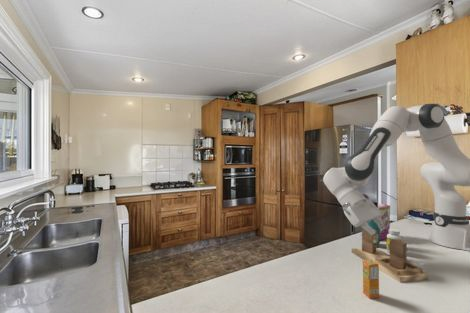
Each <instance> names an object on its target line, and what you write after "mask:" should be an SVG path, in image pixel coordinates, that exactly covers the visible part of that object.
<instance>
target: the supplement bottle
mask: <svg viewBox="0 0 470 313" xmlns="http://www.w3.org/2000/svg"><path fill="white" fill-rule="evenodd" d="M393 239H395V240H399V241H403V238H402V236H401V231H400V230H399V229H395V228H390V229H389V234H387V238H386V251H387V252H386V253H388V244H390V241H392V240H393Z"/></svg>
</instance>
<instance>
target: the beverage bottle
mask: <svg viewBox="0 0 470 313" xmlns="http://www.w3.org/2000/svg"><path fill="white" fill-rule="evenodd" d="M372 202H373V203H374V204H375V206H376V207H378V204H379V203H378V202H376V201H372ZM379 218H380V217H379ZM368 225H369V226H370V227H371V228H372V229H374V230H376V234H378V242H376V245H380V243H381V240H380V229H379V228H378V225H377V223H375V222H374V221H371V222H368Z"/></svg>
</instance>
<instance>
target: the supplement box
mask: <svg viewBox="0 0 470 313" xmlns="http://www.w3.org/2000/svg"><path fill="white" fill-rule="evenodd" d="M379 272H380V269H379V265H378V263H376V262H374V261H373V260H363V259H362V293H363V294H364V295H365V297H367V298H368V299H379V298H380V276H379V274H380V273H379Z"/></svg>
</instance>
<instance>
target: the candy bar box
mask: <svg viewBox="0 0 470 313" xmlns="http://www.w3.org/2000/svg"><path fill="white" fill-rule="evenodd" d="M377 208H378V209H379V210H380V212H381V214H382V216H380V219H381V221H382V223H383V225H384V226H385V227H386V228H385V229H384V230H380V241H381V240H384V239H387V234H389V229H391V228H390V227H391V226H390V225H391V221H390V220H391V205H388V204H384V203H378V207H377Z"/></svg>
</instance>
